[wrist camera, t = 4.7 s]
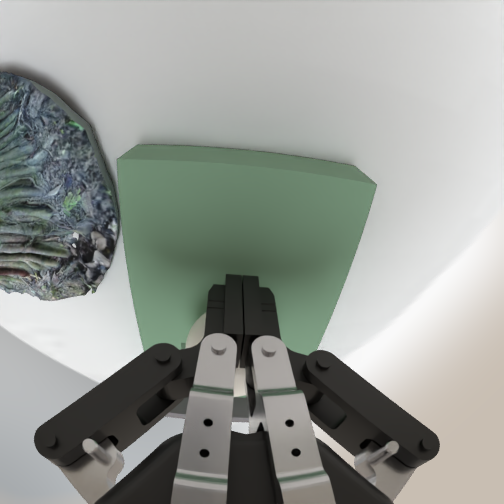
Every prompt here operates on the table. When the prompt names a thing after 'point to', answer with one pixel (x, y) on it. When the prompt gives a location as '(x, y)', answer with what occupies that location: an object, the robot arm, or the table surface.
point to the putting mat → (237, 237)
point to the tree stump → (51, 196)
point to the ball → (195, 338)
